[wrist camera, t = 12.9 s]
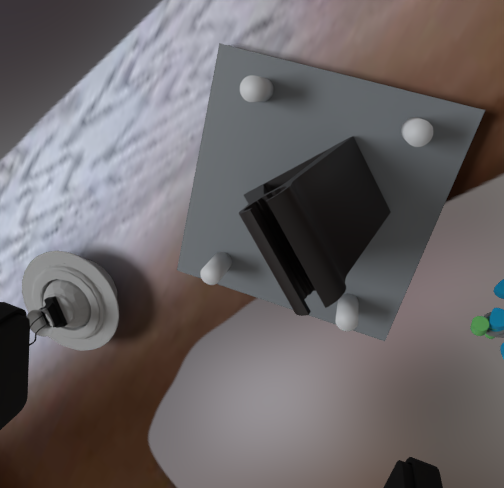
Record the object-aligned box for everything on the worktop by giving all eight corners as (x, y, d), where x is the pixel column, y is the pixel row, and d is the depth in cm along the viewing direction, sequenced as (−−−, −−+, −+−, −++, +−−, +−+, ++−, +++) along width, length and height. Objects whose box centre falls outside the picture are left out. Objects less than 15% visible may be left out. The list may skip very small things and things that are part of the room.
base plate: (480, 109, 27) (499, 111, 24) (384, 333, 34) (386, 363, 30) (224, 45, 30) (204, 37, 26) (182, 265, 37) (161, 284, 33)
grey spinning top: (-102, 311, 29) (-38, 426, 32) (3, 289, 26) (65, 419, 29) (27, 251, 41) (66, 340, 43) (111, 231, 38) (148, 329, 40)
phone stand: (353, 135, 29) (348, 158, 18) (390, 211, 30) (407, 278, 19) (244, 193, 32) (182, 243, 21) (281, 259, 33) (240, 340, 22)
